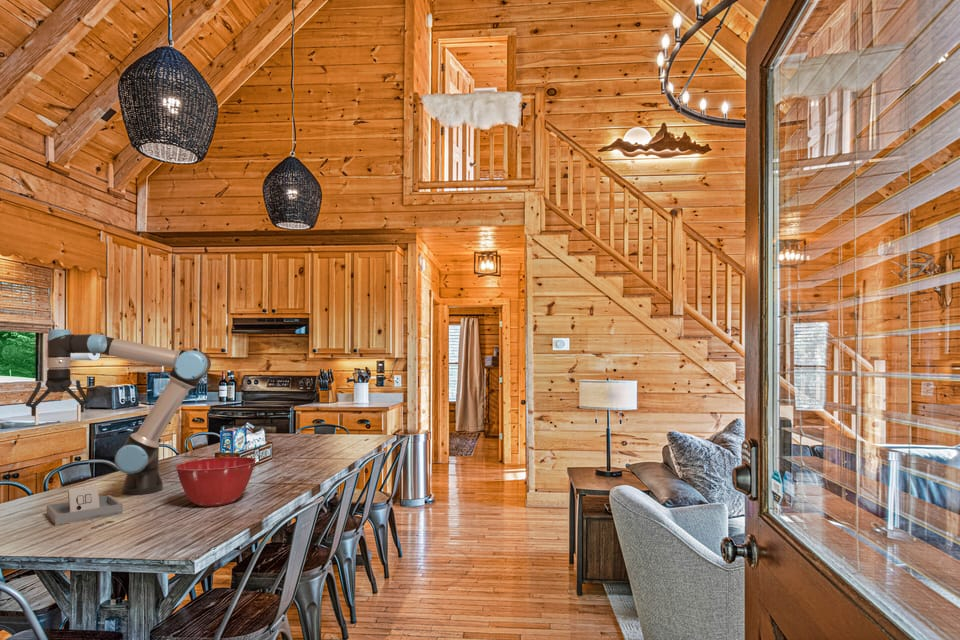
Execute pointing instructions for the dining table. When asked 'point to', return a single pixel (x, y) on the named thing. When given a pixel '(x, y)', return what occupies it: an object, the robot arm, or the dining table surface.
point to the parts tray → (84, 511)
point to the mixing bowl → (215, 479)
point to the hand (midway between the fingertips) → (57, 422)
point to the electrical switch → (83, 498)
